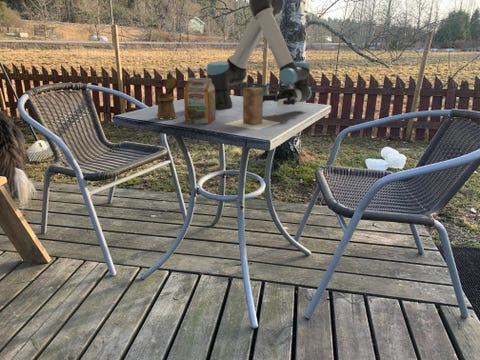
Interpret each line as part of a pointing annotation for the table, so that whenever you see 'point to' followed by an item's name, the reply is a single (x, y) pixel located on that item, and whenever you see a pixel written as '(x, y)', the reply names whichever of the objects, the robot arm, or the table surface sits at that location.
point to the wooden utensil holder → (167, 100)
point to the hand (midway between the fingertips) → (265, 101)
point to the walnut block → (252, 105)
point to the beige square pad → (255, 127)
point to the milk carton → (199, 101)
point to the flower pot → (265, 88)
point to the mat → (278, 118)
